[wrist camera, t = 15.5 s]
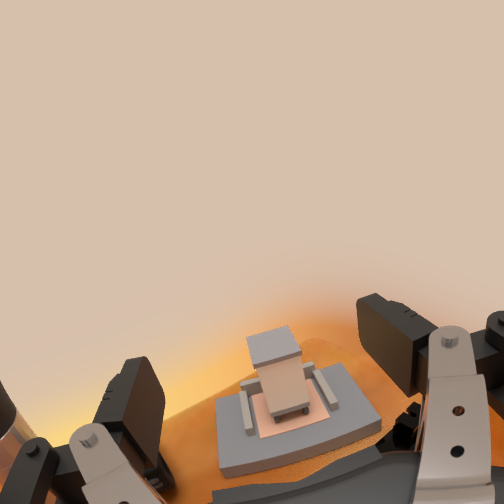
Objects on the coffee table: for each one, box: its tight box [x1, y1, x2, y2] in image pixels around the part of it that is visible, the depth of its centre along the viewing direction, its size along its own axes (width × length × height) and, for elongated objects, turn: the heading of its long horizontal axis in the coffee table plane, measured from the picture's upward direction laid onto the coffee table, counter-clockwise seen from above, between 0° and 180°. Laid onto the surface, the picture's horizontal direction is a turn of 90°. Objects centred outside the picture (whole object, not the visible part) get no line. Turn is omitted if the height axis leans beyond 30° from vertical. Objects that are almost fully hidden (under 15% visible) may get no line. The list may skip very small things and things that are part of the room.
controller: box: [143, 451, 174, 493], centre depth 28 cm, size 4×12×10 cm, turn 31°
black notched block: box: [375, 402, 421, 454], centre depth 26 cm, size 12×7×5 cm, turn 118°
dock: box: [215, 361, 381, 478], centre depth 35 cm, size 20×14×5 cm
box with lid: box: [246, 326, 310, 423], centre depth 35 cm, size 5×6×11 cm
